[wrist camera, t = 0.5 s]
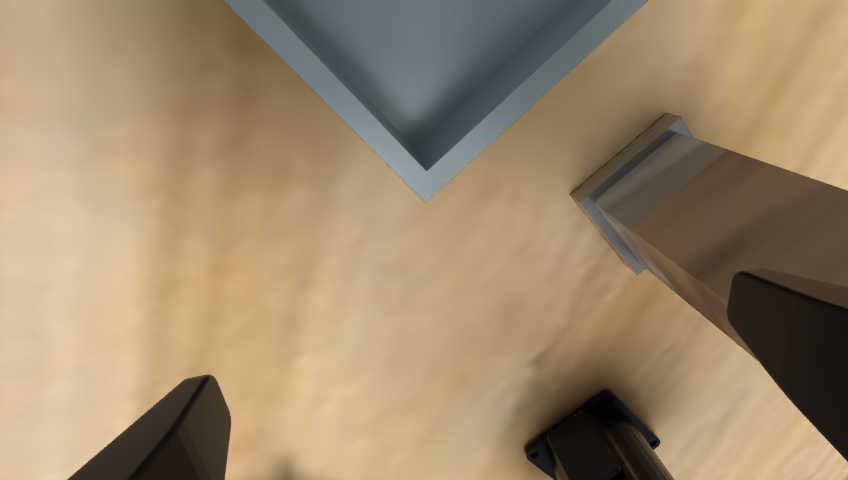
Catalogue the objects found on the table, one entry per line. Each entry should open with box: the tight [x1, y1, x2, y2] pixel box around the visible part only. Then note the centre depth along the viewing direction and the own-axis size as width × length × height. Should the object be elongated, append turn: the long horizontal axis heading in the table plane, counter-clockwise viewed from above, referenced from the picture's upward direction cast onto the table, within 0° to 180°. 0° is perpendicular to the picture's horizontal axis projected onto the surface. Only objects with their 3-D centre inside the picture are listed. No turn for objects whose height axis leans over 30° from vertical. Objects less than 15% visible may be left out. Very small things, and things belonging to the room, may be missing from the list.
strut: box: [593, 133, 848, 360], centre depth 17 cm, size 4×4×10 cm
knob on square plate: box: [570, 113, 693, 275], centre depth 21 cm, size 5×5×3 cm
